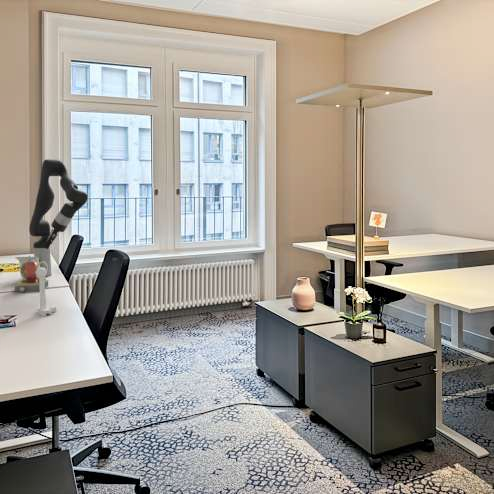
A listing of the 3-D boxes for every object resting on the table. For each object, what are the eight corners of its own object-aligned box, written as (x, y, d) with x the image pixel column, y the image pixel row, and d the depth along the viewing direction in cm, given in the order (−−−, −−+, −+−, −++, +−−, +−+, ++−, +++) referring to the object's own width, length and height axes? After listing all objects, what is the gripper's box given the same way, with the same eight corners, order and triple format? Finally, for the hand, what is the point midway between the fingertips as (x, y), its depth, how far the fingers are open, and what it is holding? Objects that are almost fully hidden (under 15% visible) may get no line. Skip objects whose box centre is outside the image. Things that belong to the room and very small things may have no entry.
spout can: (27, 282, 274) (26, 254, 272) (38, 282, 275) (37, 254, 273) (25, 284, 268) (23, 256, 267) (36, 283, 269) (34, 255, 268)
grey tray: (21, 287, 277) (20, 279, 276) (48, 285, 280) (47, 278, 279) (13, 293, 261) (12, 285, 261) (42, 292, 264) (42, 284, 264)
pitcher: (45, 282, 290) (43, 258, 289) (12, 282, 289) (11, 258, 288) (51, 278, 301) (50, 255, 300) (20, 279, 300) (18, 255, 299)
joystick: (35, 311, 225) (33, 266, 222) (53, 308, 229) (51, 264, 226) (40, 316, 216) (37, 269, 213) (59, 314, 220) (56, 267, 217)
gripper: (57, 213, 279) (42, 236, 282) (53, 222, 266) (37, 246, 269) (70, 220, 281) (55, 243, 285) (66, 229, 269) (51, 253, 272)
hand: (46, 244), depth 277 cm, fingers open, 8 cm apart
